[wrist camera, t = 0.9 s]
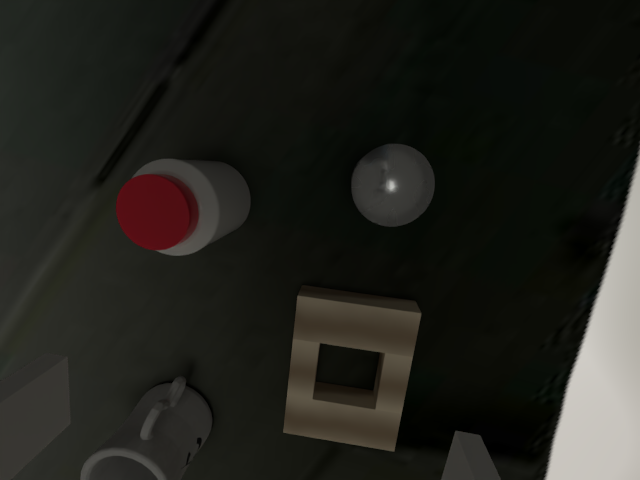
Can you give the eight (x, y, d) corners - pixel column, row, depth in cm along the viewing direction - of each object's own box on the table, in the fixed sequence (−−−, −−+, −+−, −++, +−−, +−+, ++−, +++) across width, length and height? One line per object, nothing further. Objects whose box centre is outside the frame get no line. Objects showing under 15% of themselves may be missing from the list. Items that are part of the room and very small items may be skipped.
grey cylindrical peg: (354, 151, 32) (357, 139, 18) (403, 156, 32) (442, 148, 18) (348, 198, 33) (346, 221, 19) (395, 204, 33) (426, 231, 19)
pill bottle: (196, 146, 33) (122, 136, 22) (263, 184, 33) (222, 192, 23) (167, 212, 35) (86, 232, 24) (231, 248, 35) (179, 284, 24)
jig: (302, 284, 35) (297, 295, 32) (415, 301, 34) (421, 313, 32) (288, 412, 39) (283, 432, 36) (390, 429, 38) (394, 451, 35)
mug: (204, 454, 41) (158, 542, 32) (136, 427, 41) (70, 507, 32) (231, 373, 38) (190, 442, 29) (158, 345, 39) (93, 405, 29)
